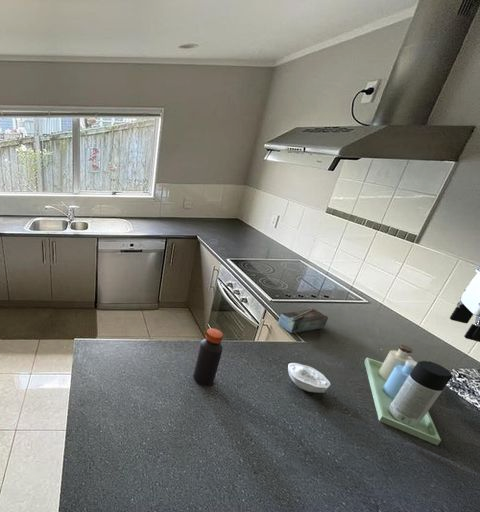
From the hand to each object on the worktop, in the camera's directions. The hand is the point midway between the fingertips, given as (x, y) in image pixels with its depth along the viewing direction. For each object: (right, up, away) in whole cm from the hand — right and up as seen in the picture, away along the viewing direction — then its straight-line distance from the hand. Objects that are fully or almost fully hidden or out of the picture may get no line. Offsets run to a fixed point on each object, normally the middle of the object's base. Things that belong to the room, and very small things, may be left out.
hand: (465, 330), depth 73 cm
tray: (+3, -28, +20) cm, 35 cm away
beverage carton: (-2, -13, +56) cm, 57 cm away
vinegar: (-59, -24, +25) cm, 69 cm away
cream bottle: (+9, -25, +28) cm, 38 cm away
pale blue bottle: (+4, -27, +21) cm, 35 cm away
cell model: (-25, -26, +24) cm, 43 cm away
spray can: (-2, -31, +13) cm, 33 cm away
